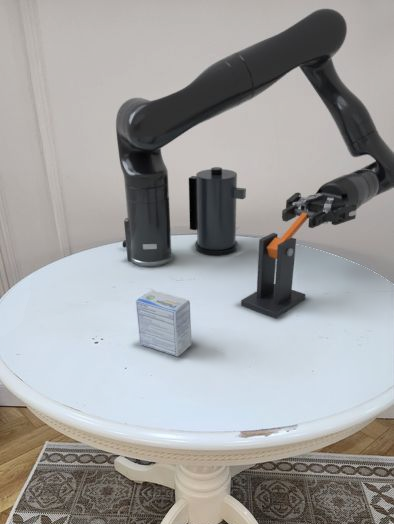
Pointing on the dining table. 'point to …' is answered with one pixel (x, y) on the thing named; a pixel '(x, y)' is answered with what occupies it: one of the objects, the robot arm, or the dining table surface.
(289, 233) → the switch lever
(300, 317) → the dining table surface
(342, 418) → the dining table surface
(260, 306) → the base
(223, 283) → the dining table surface
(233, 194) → the kettle
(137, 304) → the medicine box
